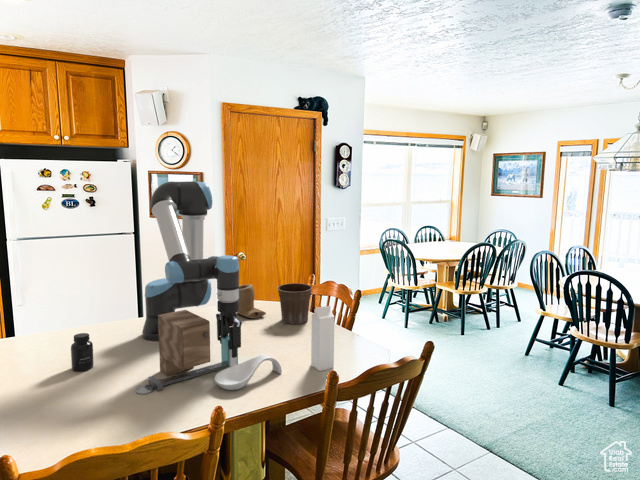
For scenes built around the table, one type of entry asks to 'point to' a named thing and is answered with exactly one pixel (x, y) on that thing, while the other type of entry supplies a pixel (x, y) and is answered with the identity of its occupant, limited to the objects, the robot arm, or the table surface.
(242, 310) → the brown boot
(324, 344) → the milk
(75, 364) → the supplement bottle
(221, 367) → the scraper
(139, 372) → the table surface
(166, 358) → the low cabinet
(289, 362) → the table surface
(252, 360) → the spoon rest
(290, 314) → the plant pot
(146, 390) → the steel token
